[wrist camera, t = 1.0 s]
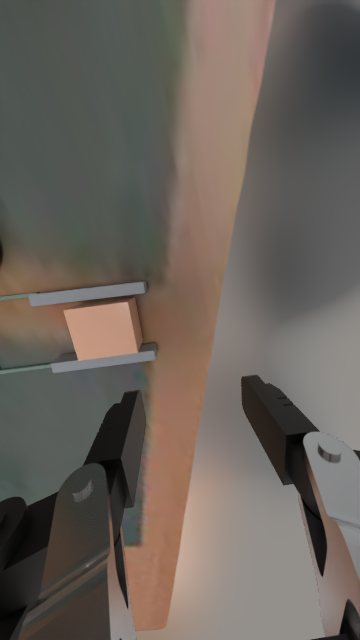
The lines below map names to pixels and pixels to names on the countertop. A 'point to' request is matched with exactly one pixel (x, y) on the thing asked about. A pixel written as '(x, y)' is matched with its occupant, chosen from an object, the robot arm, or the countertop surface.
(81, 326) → the block
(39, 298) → the chute
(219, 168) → the countertop surface
